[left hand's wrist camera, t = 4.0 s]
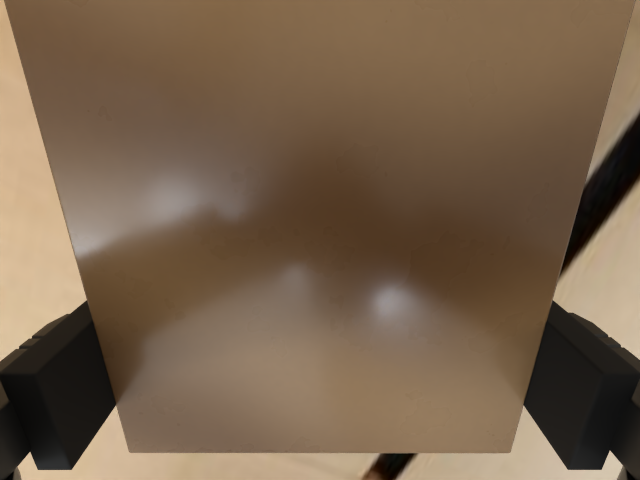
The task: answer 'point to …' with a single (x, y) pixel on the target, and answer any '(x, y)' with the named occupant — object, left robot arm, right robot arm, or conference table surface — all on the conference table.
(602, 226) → the conference table surface
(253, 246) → the cabinet
